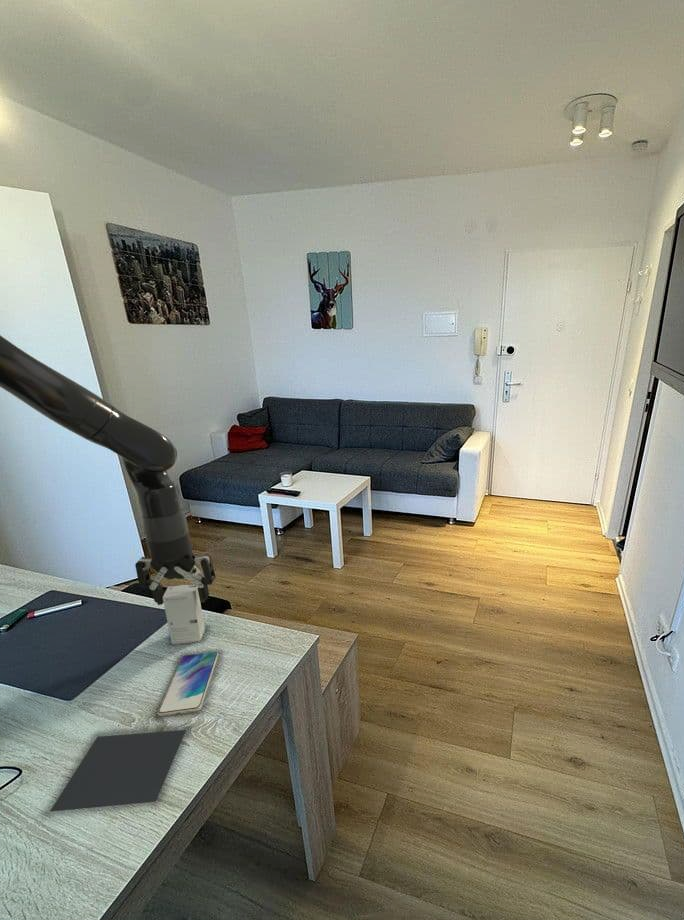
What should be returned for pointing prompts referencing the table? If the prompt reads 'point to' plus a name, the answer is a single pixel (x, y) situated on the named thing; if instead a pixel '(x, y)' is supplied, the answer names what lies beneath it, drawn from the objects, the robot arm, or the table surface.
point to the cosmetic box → (184, 613)
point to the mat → (121, 770)
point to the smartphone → (189, 684)
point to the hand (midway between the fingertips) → (182, 601)
